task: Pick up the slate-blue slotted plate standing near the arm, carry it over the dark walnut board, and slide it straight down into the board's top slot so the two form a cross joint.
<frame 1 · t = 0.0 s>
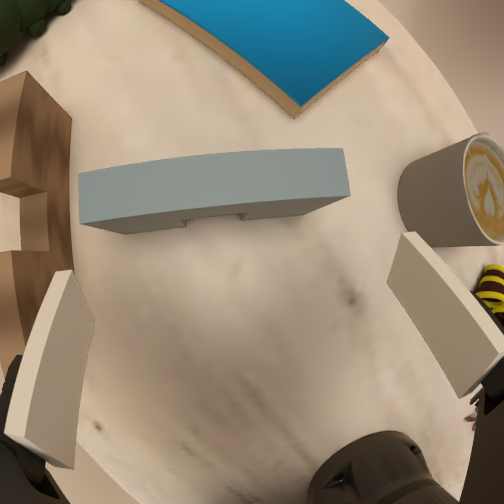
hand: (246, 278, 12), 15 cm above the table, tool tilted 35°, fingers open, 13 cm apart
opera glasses: (487, 298, 32), on the table
coffee mug: (437, 193, 30), on the table
book: (258, 17, 28), on the table
walnut board: (57, 227, 25), on the table
slate plate: (212, 206, 27), on the table
toy figurine: (37, 26, 24), on the table
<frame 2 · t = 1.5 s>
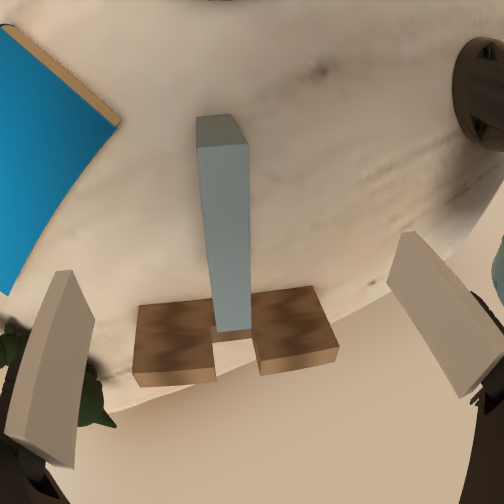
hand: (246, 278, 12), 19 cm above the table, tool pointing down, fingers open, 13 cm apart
book: (3, 164, 23), on the table
walnut board: (226, 305, 38), on the table
slate plate: (218, 196, 30), on the table
toy figurine: (53, 348, 39), on the table
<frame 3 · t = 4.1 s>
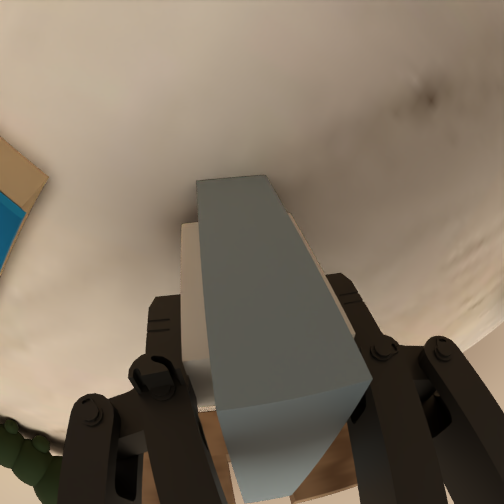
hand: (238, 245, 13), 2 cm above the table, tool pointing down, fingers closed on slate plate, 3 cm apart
walnut board: (245, 413, 27), on the table
slate plate: (238, 308, 18), on the table, touching gripper
toy figurine: (35, 433, 27), on the table
when the fingers open (3 cm above the table, at t = 12.2 s): slate plate drops 1 cm, on the table.
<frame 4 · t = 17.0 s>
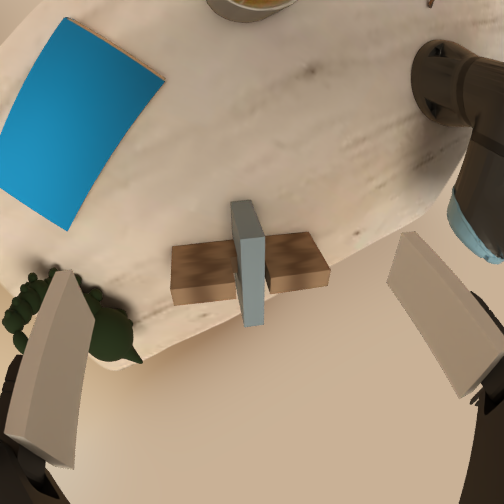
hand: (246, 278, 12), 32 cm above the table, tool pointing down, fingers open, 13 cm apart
book: (67, 122, 33), on the table
walnut board: (242, 246, 50), on the table
slate plate: (242, 245, 50), on the table
toy figurine: (89, 294, 50), on the table
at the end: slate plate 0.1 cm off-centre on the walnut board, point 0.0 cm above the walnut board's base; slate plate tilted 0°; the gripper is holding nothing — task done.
